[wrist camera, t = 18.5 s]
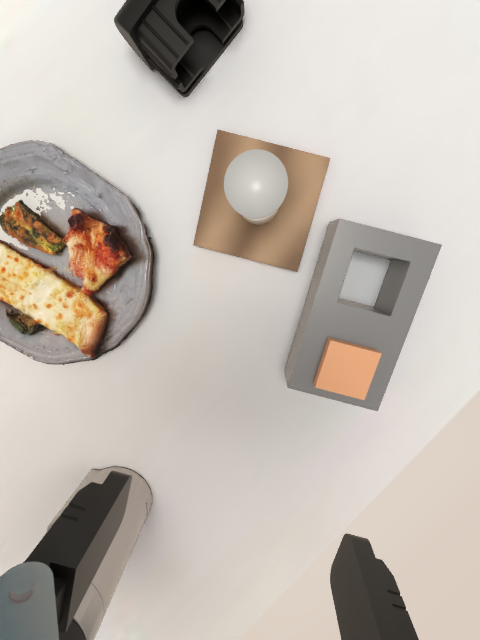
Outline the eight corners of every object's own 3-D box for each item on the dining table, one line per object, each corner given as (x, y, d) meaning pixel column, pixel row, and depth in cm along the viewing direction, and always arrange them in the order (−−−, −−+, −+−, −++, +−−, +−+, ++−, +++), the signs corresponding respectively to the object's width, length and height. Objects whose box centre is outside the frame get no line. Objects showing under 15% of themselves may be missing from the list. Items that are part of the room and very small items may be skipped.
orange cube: (308, 370, 38) (315, 387, 33) (322, 328, 37) (330, 340, 32) (351, 381, 38) (364, 400, 33) (366, 340, 37) (381, 353, 32)
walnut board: (195, 244, 37) (193, 245, 36) (218, 132, 35) (217, 129, 34) (296, 271, 37) (297, 271, 36) (328, 160, 35) (330, 158, 34)
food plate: (194, 240, 37) (186, 239, 34) (99, 391, 43) (84, 403, 39) (8, 109, 36) (-20, 94, 33) (-65, 281, 42) (-95, 284, 38)
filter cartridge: (232, 220, 36) (217, 209, 25) (242, 174, 34) (231, 142, 24) (274, 231, 36) (278, 224, 25) (286, 185, 34) (295, 157, 24)
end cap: (196, -37, 32) (179, -112, 25) (248, 20, 32) (245, -38, 26) (132, 51, 34) (100, 4, 27) (182, 103, 34) (163, 69, 28)
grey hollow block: (284, 370, 40) (287, 387, 35) (329, 222, 36) (339, 218, 31) (363, 391, 40) (377, 411, 35) (417, 245, 36) (441, 244, 31)
